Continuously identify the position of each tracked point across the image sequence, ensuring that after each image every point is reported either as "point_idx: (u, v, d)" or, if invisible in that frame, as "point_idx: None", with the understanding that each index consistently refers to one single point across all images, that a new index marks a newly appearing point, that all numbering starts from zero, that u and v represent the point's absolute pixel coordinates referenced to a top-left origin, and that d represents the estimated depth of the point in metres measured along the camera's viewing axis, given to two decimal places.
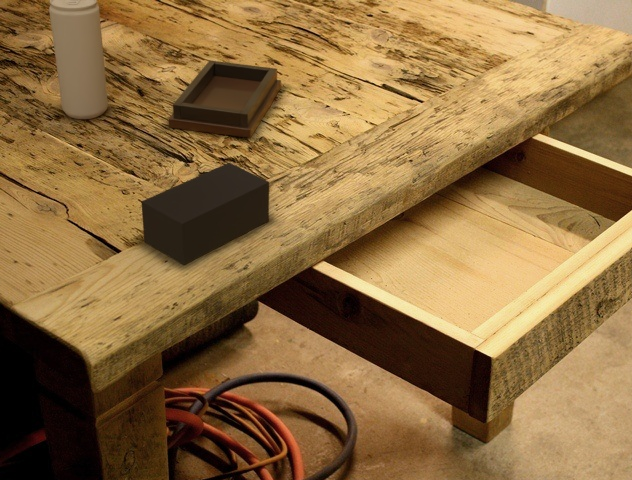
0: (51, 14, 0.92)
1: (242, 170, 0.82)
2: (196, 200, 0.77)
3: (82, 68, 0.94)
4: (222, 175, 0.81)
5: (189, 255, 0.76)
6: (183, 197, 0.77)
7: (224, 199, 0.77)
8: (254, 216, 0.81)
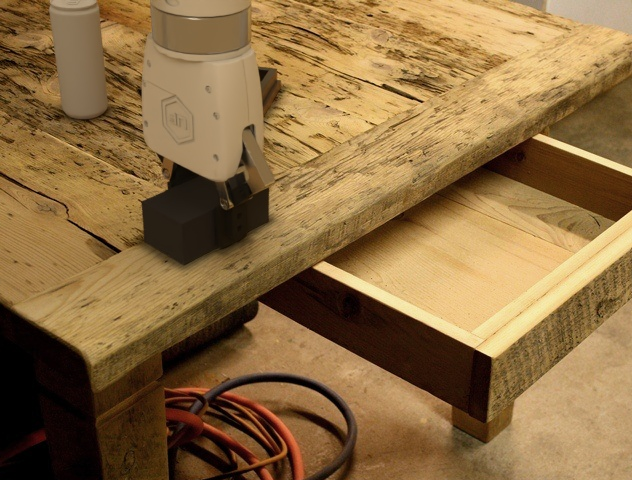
0: (51, 14, 0.92)
1: None
2: (196, 200, 0.77)
3: (82, 68, 0.94)
4: None
5: (189, 255, 0.76)
6: (183, 197, 0.77)
7: None
8: (254, 216, 0.81)
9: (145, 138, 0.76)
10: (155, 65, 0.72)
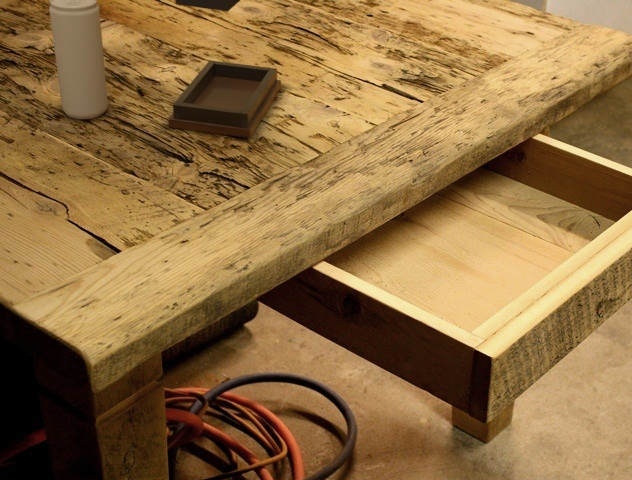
0: (51, 14, 0.92)
1: None
2: None
3: (82, 68, 0.94)
4: None
5: (230, 2, 0.83)
6: None
7: None
8: None
9: None
10: None
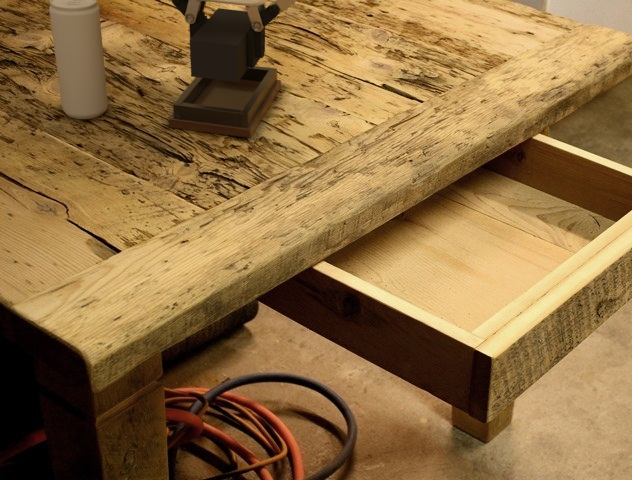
0: (51, 14, 0.92)
1: (235, 10, 1.01)
2: (228, 31, 0.96)
3: (82, 68, 0.94)
4: (224, 15, 1.00)
5: (239, 73, 0.95)
6: (215, 31, 0.95)
7: (246, 27, 0.97)
8: None
9: None
10: None
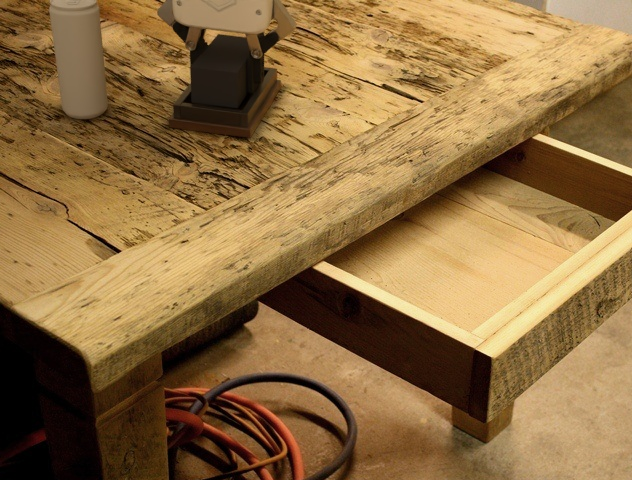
0: (51, 14, 0.92)
1: (234, 36, 1.03)
2: (227, 58, 0.97)
3: (82, 68, 0.94)
4: (224, 41, 1.01)
5: (239, 100, 0.97)
6: (215, 58, 0.97)
7: (246, 54, 0.98)
8: None
9: (178, 16, 0.94)
10: None
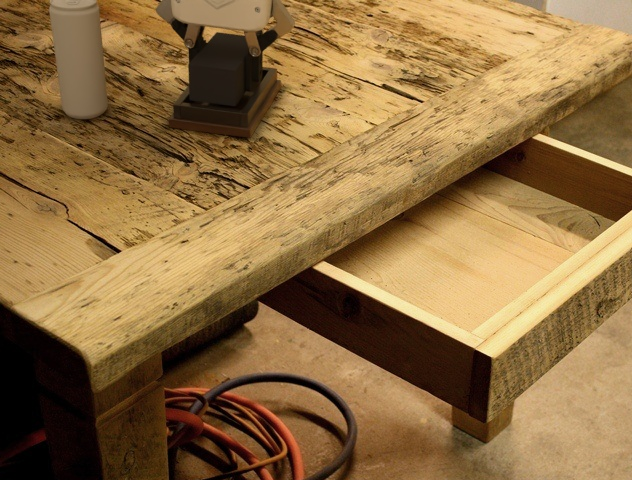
0: (51, 14, 0.92)
1: (233, 34, 1.02)
2: (226, 56, 0.97)
3: (82, 68, 0.94)
4: (223, 39, 1.01)
5: (237, 98, 0.96)
6: (214, 56, 0.97)
7: (244, 52, 0.98)
8: None
9: (176, 13, 0.94)
10: None
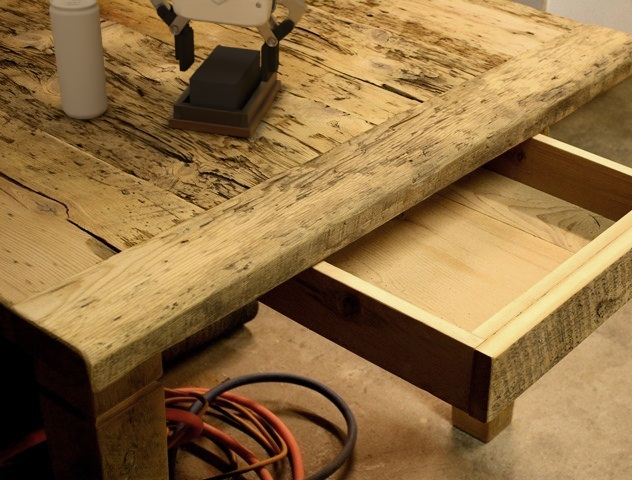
0: (51, 14, 0.92)
1: (233, 47, 1.03)
2: (226, 70, 0.98)
3: (82, 68, 0.94)
4: (223, 53, 1.02)
5: None
6: (214, 70, 0.98)
7: (245, 66, 0.99)
8: (256, 80, 1.03)
9: (177, 9, 0.94)
10: None
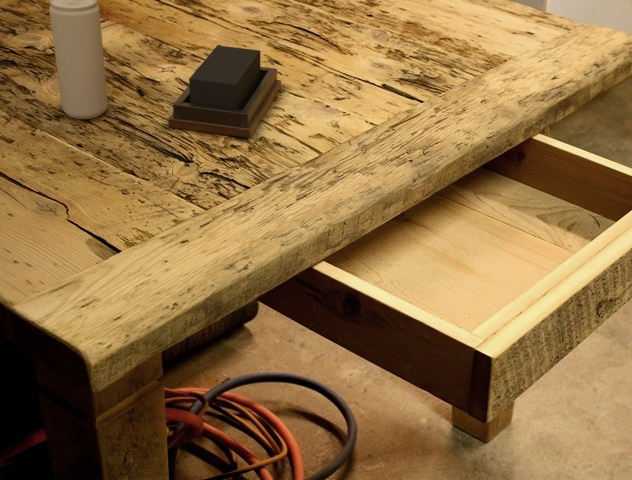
0: (51, 14, 0.92)
1: (233, 47, 1.03)
2: (226, 70, 0.98)
3: (82, 68, 0.94)
4: (223, 53, 1.02)
5: None
6: (214, 70, 0.98)
7: (245, 66, 0.99)
8: (256, 80, 1.03)
9: None
10: None
